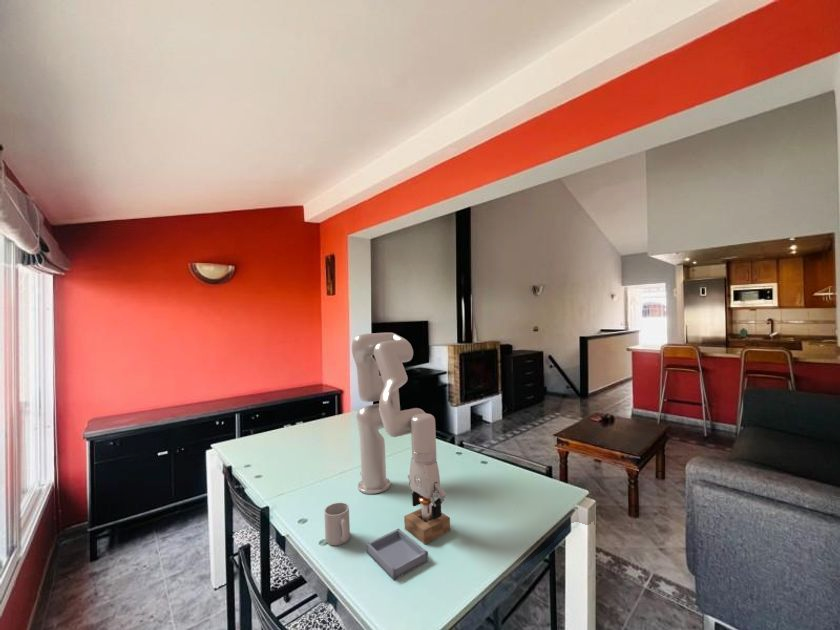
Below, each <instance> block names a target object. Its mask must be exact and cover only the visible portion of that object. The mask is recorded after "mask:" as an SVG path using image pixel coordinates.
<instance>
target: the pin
mask: <svg viewBox="0 0 840 630" xmlns="http://www.w3.org/2000/svg"><path fill="white" fill-rule="evenodd" d="M419 502H420V503H421V504H420V505H421V508H422V520H423V521H424V522H428V521H430V520H432V511H431V506H432V502H431V499H430V498H429V499H427V498H425V497H423V496H421V495H420V496H419Z"/></svg>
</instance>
